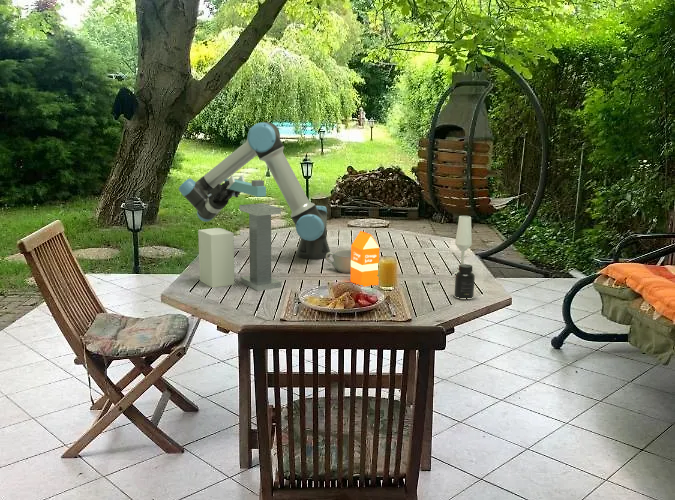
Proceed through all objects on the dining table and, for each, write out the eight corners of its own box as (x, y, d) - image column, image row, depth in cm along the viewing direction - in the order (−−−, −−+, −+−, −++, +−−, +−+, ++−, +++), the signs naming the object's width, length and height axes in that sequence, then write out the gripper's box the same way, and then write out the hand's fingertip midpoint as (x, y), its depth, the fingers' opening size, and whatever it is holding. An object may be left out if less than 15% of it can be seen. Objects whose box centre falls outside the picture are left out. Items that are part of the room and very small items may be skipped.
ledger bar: (224, 187, 259) (224, 174, 257) (232, 187, 261) (232, 173, 259) (257, 196, 236) (257, 181, 235) (266, 196, 238) (265, 181, 237)
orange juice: (361, 286, 245) (362, 235, 240) (350, 281, 253) (351, 231, 248) (378, 284, 248) (380, 233, 244) (367, 279, 256) (368, 229, 252)
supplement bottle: (452, 294, 237) (453, 263, 234) (470, 294, 237) (472, 263, 235) (457, 300, 230) (459, 268, 227) (475, 300, 231) (477, 267, 228)
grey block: (199, 280, 249) (198, 229, 245) (221, 277, 254) (220, 227, 250) (212, 287, 240) (211, 235, 235) (234, 284, 245) (233, 233, 240)
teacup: (362, 269, 271) (362, 250, 269) (354, 275, 261) (354, 256, 259) (331, 266, 276) (331, 247, 274) (322, 272, 266) (322, 253, 264)
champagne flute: (457, 276, 262) (461, 218, 257) (450, 272, 269) (453, 215, 263) (472, 275, 264) (476, 218, 259) (465, 271, 270) (468, 215, 265)
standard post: (240, 282, 248) (239, 205, 242) (263, 278, 254) (263, 203, 247) (257, 290, 237) (256, 210, 230) (281, 287, 243) (281, 208, 236)
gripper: (237, 208, 274) (259, 186, 255) (200, 211, 265) (220, 188, 246) (232, 192, 276) (254, 169, 257) (196, 194, 267) (216, 170, 248)
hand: (238, 178), depth 252 cm, fingers closed on ledger bar, 3 cm apart
